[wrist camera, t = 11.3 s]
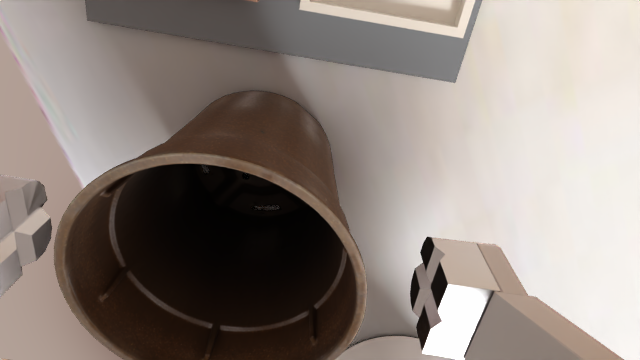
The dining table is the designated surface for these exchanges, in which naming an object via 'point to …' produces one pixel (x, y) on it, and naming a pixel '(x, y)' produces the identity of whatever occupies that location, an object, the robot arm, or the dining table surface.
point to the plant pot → (218, 243)
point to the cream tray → (401, 13)
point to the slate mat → (294, 32)
